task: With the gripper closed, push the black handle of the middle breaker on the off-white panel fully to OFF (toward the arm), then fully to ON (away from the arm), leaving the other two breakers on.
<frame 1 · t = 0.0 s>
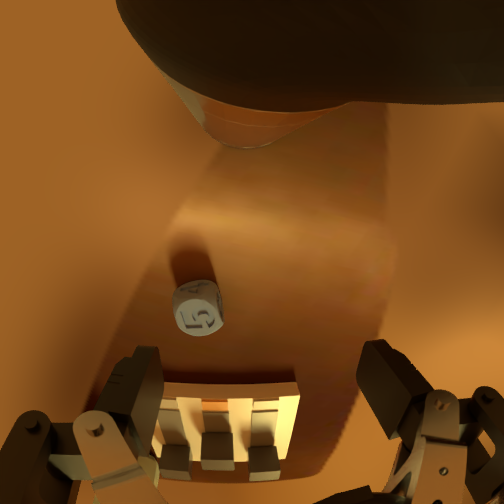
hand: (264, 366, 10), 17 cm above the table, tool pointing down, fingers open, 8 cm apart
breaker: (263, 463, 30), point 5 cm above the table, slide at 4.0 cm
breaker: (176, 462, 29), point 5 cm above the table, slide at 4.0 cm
decorative dice: (201, 296, 28), on the table
tripped breaker: (217, 451, 29), point 5 cm above the table, slide at 0.0 cm
breaker panel: (218, 422, 34), on the table
water bottle: (135, 456, 37), on the table
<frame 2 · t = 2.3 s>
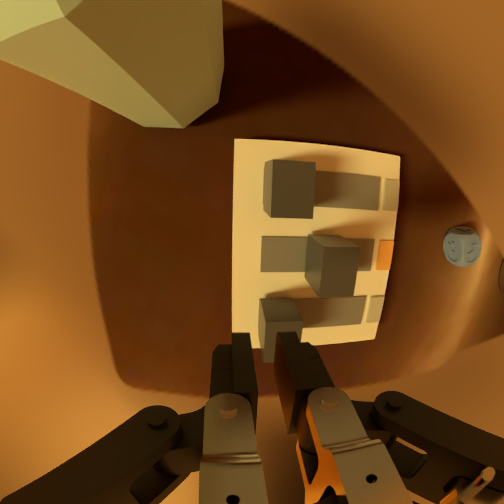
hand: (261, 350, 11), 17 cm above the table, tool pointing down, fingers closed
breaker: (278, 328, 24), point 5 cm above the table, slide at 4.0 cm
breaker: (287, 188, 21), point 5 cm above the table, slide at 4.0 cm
decorative dice: (451, 241, 30), on the table
tripped breaker: (330, 263, 23), point 5 cm above the table, slide at 0.0 cm
breaker panel: (312, 247, 28), on the table
water bottle: (174, 85, 23), on the table
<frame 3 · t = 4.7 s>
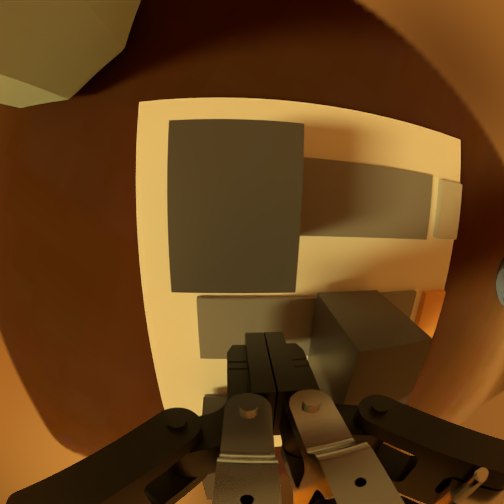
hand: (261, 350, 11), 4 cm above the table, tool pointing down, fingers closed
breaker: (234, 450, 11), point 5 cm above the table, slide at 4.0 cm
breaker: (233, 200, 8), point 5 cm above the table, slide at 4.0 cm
tripped breaker: (359, 356, 10), point 5 cm above the table, slide at -1.2 cm, touching gripper
breaker panel: (303, 303, 15), on the table
water bottle: (74, 40, 10), on the table
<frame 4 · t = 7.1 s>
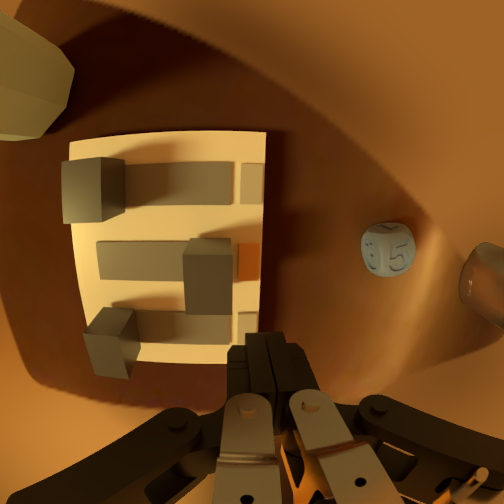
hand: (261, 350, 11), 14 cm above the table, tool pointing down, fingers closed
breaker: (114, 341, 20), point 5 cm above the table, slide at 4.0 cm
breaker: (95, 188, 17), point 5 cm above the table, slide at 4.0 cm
decorative dice: (376, 242, 26), on the table
tripped breaker: (209, 273, 19), point 5 cm above the table, slide at -4.1 cm
breaker panel: (166, 252, 24), on the table
water bottle: (42, 96, 18), on the table
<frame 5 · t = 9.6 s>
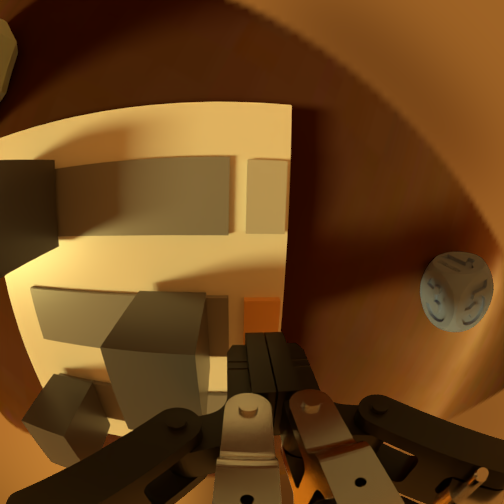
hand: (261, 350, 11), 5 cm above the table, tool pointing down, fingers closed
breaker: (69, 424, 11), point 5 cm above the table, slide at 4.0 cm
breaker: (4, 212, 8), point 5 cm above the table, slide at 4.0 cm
decorative dice: (438, 279, 17), on the table
tripped breaker: (166, 360, 10), point 5 cm above the table, slide at -3.1 cm, touching gripper
breaker panel: (133, 300, 15), on the table
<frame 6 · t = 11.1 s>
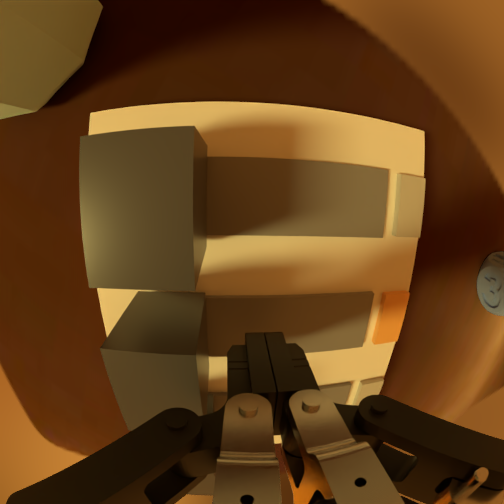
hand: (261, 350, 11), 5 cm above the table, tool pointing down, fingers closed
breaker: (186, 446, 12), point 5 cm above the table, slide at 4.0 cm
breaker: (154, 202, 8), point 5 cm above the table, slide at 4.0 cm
decorative dice: (487, 274, 17), on the table
tripped breaker: (166, 360, 10), point 5 cm above the table, slide at 4.1 cm, touching gripper
breaker panel: (257, 303, 15), on the table
water bottle: (45, 53, 10), on the table
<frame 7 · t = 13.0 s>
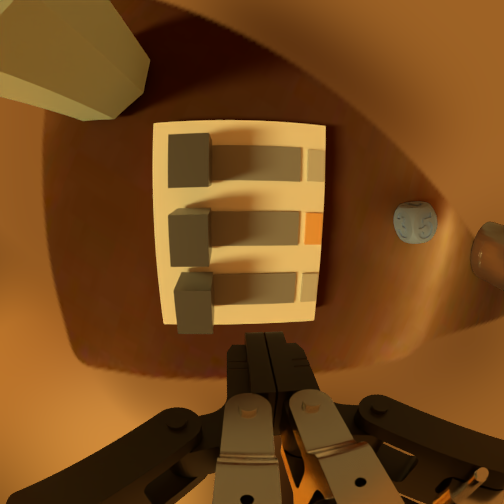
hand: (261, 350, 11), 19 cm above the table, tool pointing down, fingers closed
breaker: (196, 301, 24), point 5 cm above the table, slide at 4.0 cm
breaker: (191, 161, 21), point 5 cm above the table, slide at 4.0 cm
decorative dice: (405, 218, 30), on the table
tripped breaker: (191, 235, 23), point 5 cm above the table, slide at 4.1 cm
breaker panel: (238, 223, 28), on the table
water bottle: (111, 82, 23), on the table
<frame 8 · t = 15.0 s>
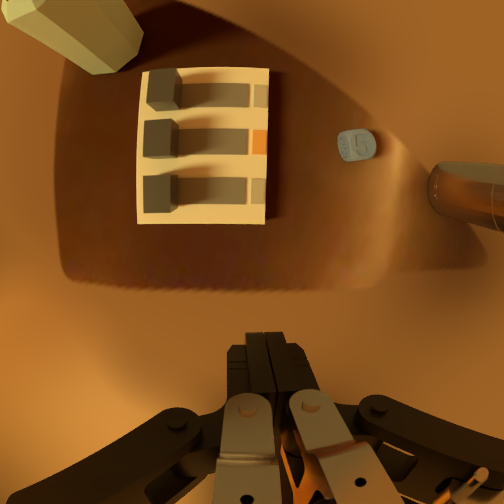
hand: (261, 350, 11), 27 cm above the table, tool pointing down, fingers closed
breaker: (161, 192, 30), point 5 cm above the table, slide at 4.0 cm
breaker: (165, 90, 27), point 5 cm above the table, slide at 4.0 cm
decorative dice: (350, 146, 35), on the table
tripped breaker: (161, 140, 28), point 5 cm above the table, slide at 4.1 cm
breaker panel: (202, 144, 34), on the table
water bottle: (115, 49, 29), on the table
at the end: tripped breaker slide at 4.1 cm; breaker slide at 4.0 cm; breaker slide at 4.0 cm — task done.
